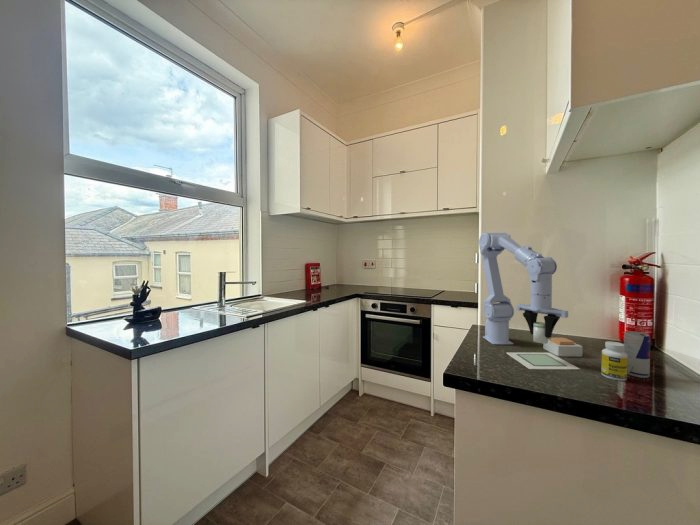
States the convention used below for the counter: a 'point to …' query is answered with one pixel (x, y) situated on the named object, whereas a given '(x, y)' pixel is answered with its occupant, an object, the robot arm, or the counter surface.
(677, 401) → the counter surface
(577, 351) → the button housing
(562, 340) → the button
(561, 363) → the picture board
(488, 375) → the counter surface
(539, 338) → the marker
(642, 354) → the energy drink
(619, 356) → the supplement bottle
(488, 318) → the robot arm
